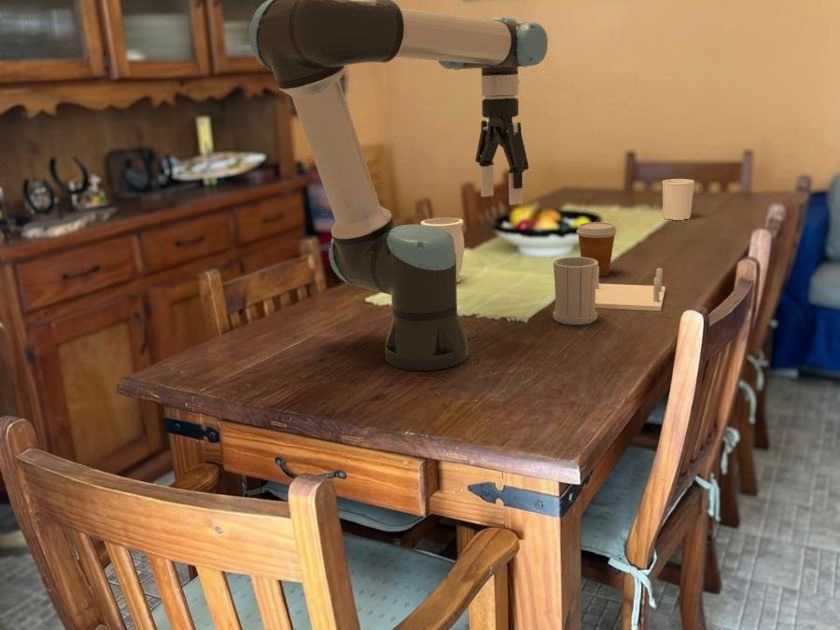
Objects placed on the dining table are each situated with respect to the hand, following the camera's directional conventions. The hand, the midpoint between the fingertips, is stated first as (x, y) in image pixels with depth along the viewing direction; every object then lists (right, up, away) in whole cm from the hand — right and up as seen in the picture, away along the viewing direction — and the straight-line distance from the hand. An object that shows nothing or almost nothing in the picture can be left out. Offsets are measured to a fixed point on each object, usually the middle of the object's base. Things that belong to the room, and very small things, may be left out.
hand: (501, 200), depth 174 cm
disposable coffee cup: (+26, -15, +26) cm, 39 cm away
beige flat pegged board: (+27, -21, +4) cm, 35 cm away
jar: (-11, -17, +25) cm, 32 cm away
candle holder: (+65, +6, +88) cm, 110 cm away
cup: (+14, -25, -8) cm, 30 cm away
